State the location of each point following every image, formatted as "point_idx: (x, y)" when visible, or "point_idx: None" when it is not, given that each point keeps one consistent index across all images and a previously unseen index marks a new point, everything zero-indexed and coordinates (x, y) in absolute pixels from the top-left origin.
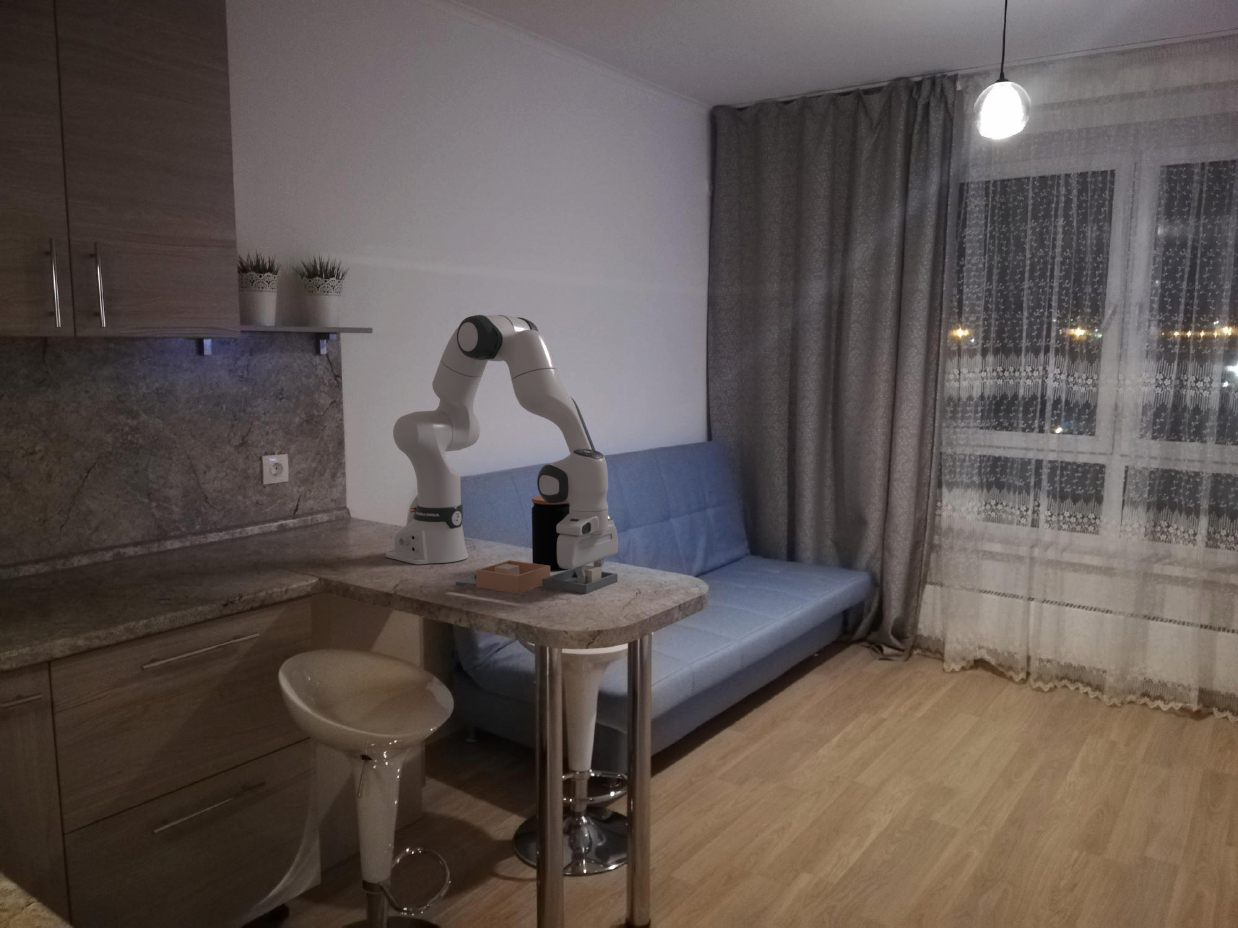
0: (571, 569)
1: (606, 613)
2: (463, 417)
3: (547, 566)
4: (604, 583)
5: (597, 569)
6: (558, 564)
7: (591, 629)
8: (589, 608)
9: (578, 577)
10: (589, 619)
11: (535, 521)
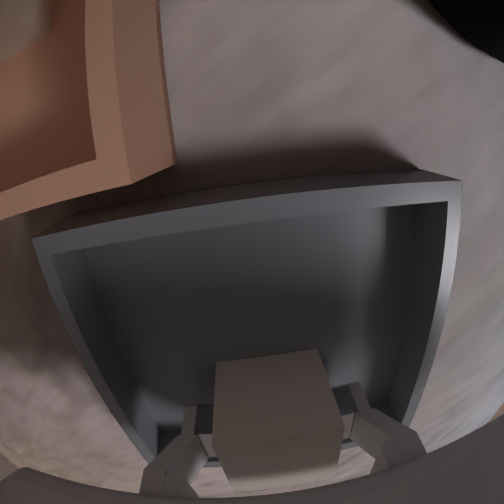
0: (413, 196)
1: None
2: None
3: (86, 188)
4: None
5: (293, 482)
6: (6, 478)
7: None
8: (91, 465)
9: (183, 431)
10: (58, 475)
11: None
